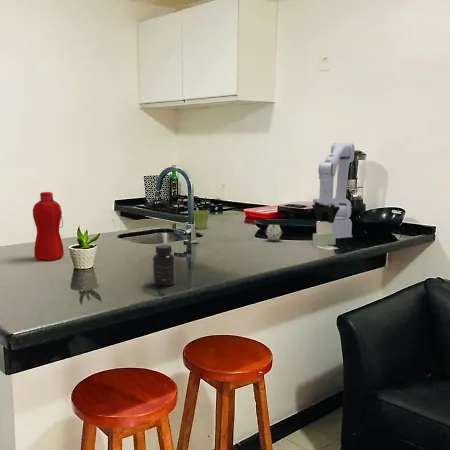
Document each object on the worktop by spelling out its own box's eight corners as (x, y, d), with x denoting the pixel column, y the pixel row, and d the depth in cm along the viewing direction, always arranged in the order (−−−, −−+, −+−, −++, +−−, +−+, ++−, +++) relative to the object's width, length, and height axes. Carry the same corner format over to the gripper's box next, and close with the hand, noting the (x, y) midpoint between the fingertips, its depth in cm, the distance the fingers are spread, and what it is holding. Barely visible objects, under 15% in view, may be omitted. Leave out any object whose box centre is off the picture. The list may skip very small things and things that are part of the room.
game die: (276, 248, 233) (287, 230, 234) (276, 245, 224) (288, 226, 226) (259, 238, 234) (271, 220, 236) (259, 234, 226) (271, 216, 227)
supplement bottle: (153, 281, 162) (153, 244, 160) (175, 281, 162) (175, 243, 160) (152, 287, 155) (151, 248, 153) (175, 286, 155) (174, 248, 154)
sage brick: (328, 243, 227) (328, 232, 226) (335, 244, 223) (335, 232, 223) (312, 245, 222) (312, 233, 222) (319, 246, 218) (319, 234, 218)
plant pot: (209, 229, 259) (209, 212, 258) (190, 229, 260) (190, 212, 258) (209, 226, 269) (209, 210, 267) (192, 226, 269) (192, 210, 267)
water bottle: (56, 262, 186) (53, 193, 182) (31, 260, 189) (27, 192, 185) (71, 257, 195) (68, 191, 191) (46, 255, 198) (43, 190, 194)
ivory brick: (324, 232, 225) (324, 221, 224) (331, 233, 221) (331, 222, 220) (316, 233, 222) (316, 222, 222) (323, 234, 219) (323, 222, 218)
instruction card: (325, 245, 222) (325, 244, 222) (338, 248, 215) (338, 248, 215) (315, 246, 219) (315, 246, 219) (328, 250, 212) (328, 249, 212)
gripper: (308, 189, 223) (307, 220, 225) (331, 192, 211) (329, 224, 213) (320, 188, 227) (319, 219, 229) (343, 191, 214) (342, 223, 217)
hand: (325, 221), depth 221 cm, fingers open, 7 cm apart
